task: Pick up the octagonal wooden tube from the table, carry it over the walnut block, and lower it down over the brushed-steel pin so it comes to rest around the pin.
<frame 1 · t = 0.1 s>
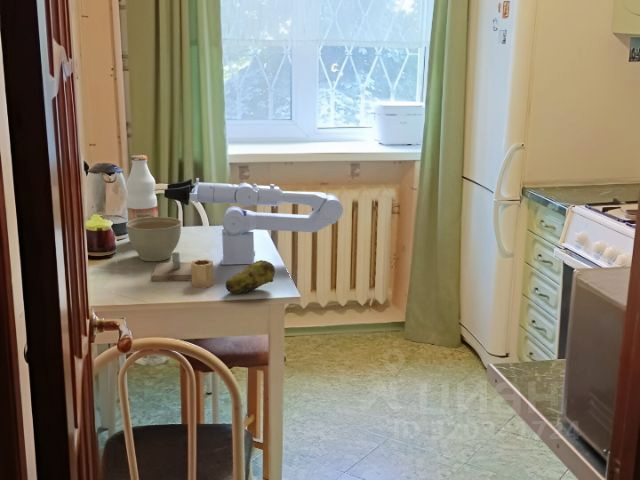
hand: (165, 190, 225), 22 cm above the table, tool horizontal, fingers open, 7 cm apart
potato: (250, 292, 206), on the table
planter bowl: (156, 258, 237), on the table
pin block: (176, 273, 221), on the table
octagonal wooden tube: (202, 284, 212), on the table
white milk bottle: (144, 242, 254), on the table
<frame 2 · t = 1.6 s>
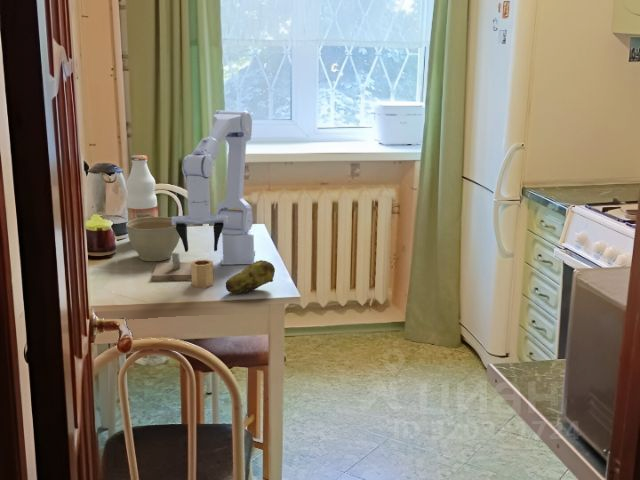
hand: (201, 250, 209), 9 cm above the table, tool pointing down, fingers open, 7 cm apart
nothing on the table moved.
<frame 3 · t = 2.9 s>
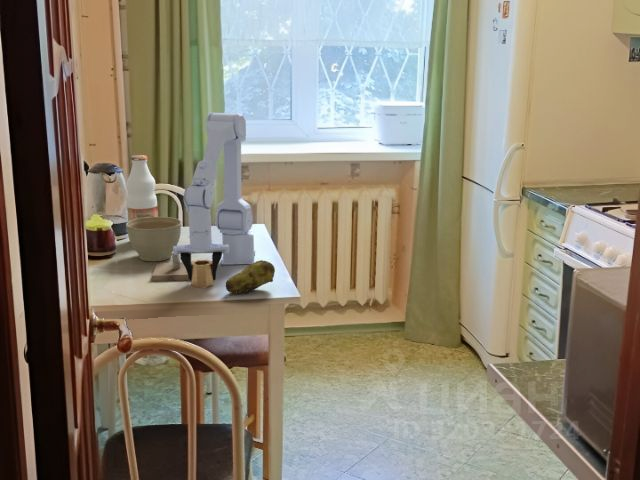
hand: (202, 279, 211), 1 cm above the table, tool pointing down, fingers closed on octagonal wooden tube, 6 cm apart
octagonal wooden tube: (202, 284, 212), on the table, touching gripper
everything else where it was.
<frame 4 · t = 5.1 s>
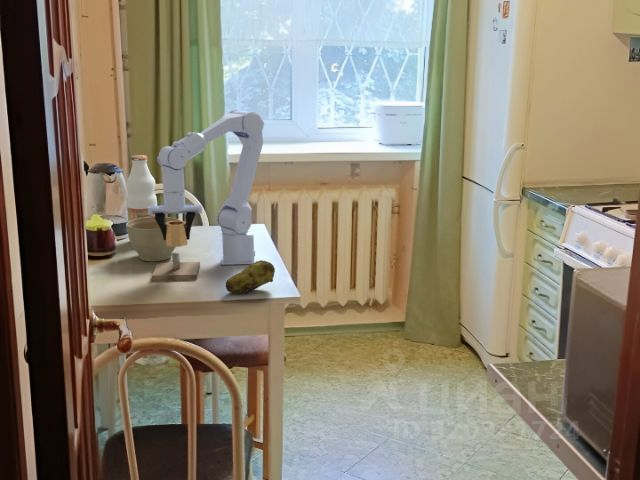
hand: (176, 239, 217), 10 cm above the table, tool pointing down, fingers closed on octagonal wooden tube, 6 cm apart
octagonal wooden tube: (177, 244, 218), point 9 cm above the table, touching gripper
everything else where it was.
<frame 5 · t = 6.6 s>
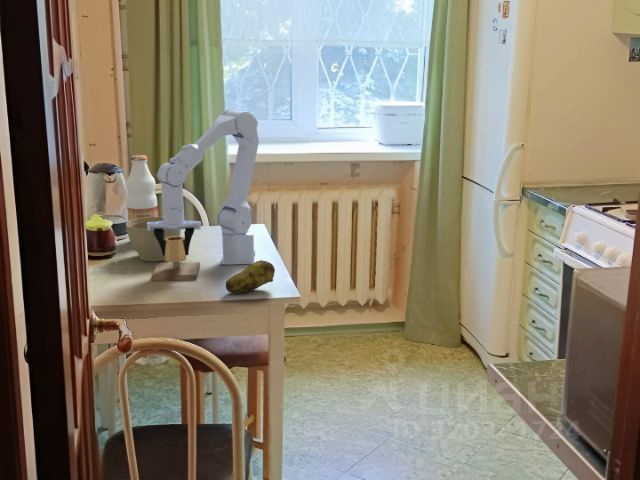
hand: (175, 254, 219), 6 cm above the table, tool pointing down, fingers closed on octagonal wooden tube, 6 cm apart
octagonal wooden tube: (175, 259, 220), point 4 cm above the table, touching gripper
everything else where it was.
when the fingers open (4 cm above the table, at t = 7.5 s): octagonal wooden tube drops 1 cm, resting on pin block.
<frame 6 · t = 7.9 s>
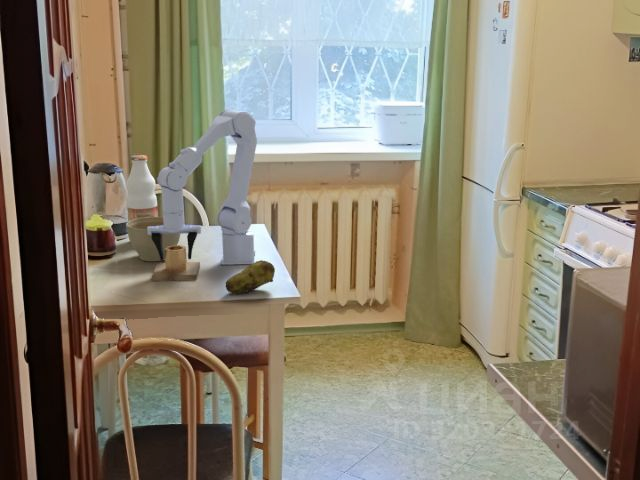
hand: (176, 258, 220), 4 cm above the table, tool pointing down, fingers open, 7 cm apart
octagonal wooden tube: (176, 268, 220), point 1 cm above the table, touching pin block
everything else where it was.
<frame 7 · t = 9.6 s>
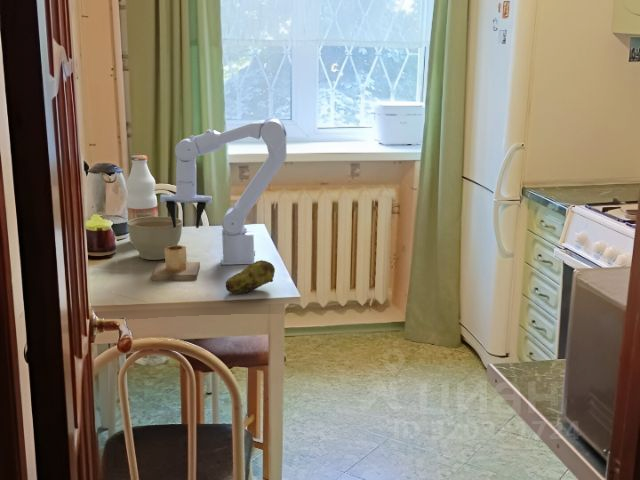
hand: (186, 226, 229), 11 cm above the table, tool pointing down, fingers open, 6 cm apart
planter bowl: (156, 257, 237), on the table, touching gripper
everything else where it was.
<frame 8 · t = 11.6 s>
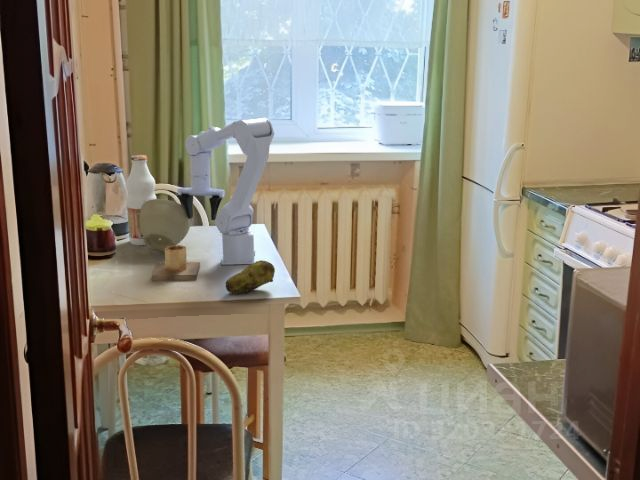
hand: (202, 218, 240), 10 cm above the table, tool pointing down, fingers open, 7 cm apart
planter bowl: (159, 244, 238), point 3 cm above the table, touching white milk bottle, gripper
white milk bottle: (144, 242, 254), on the table, touching planter bowl
everything else where it was.
at the end: octagonal wooden tube 0.0 cm off-centre on the pin block, point 1.5 cm above the pin block's base; octagonal wooden tube tilted 0°; the gripper is holding nothing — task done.
